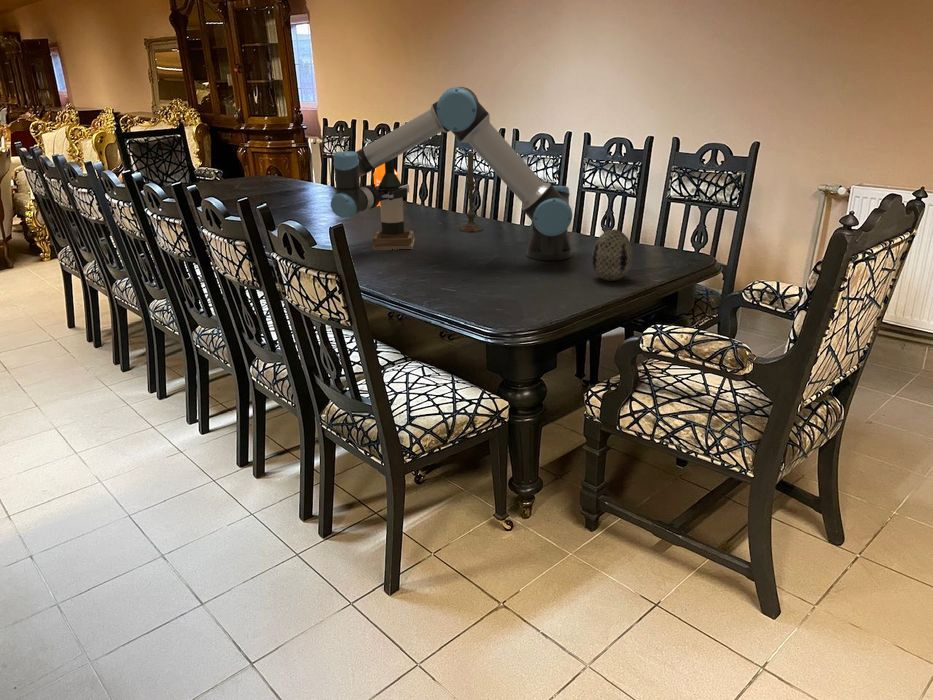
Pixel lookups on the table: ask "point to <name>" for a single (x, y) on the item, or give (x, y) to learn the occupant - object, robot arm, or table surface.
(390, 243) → the wooden crate
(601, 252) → the decorative egg
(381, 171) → the orange juice
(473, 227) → the candlestick holder
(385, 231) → the wine bottle
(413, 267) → the table surface
